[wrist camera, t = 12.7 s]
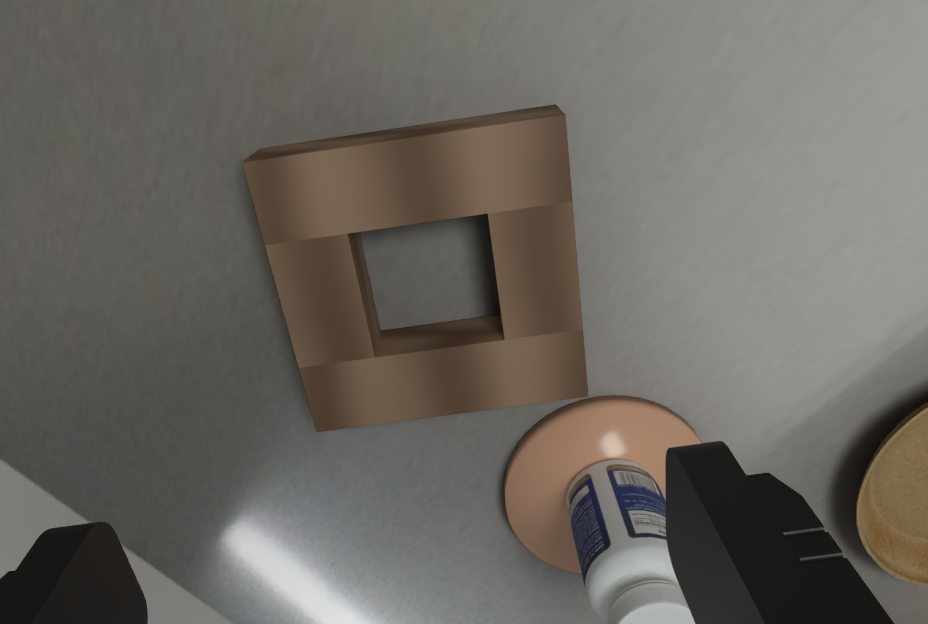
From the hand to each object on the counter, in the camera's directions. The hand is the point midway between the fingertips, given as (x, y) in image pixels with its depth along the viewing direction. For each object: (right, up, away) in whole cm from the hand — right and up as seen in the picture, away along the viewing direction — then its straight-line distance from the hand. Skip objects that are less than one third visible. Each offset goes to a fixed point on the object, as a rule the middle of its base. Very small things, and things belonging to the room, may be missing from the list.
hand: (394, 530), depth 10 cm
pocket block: (-1, +5, +25) cm, 26 cm away
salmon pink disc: (+9, -7, +31) cm, 33 cm away
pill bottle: (+9, -7, +30) cm, 32 cm away
